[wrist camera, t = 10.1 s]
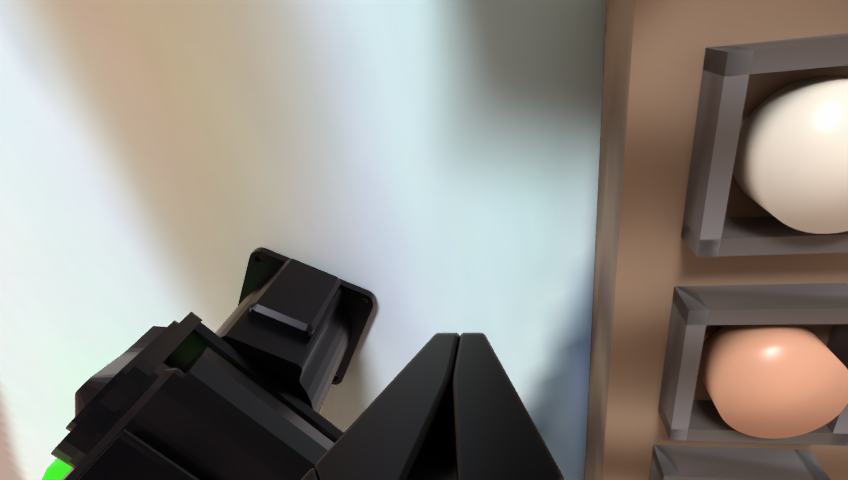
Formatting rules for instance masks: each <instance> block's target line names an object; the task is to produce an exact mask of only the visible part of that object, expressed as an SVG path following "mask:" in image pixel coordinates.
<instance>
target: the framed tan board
mask: <svg viewBox="0 0 848 480" xmlns="http://www.w3.org/2000/svg"><path fill="white" fill-rule="evenodd" d="M823 75H839V76H847V77H848V0H607V8H606V30H605V52H604V73H603V95H602V117H601V138H600V160H599V182H598V203H597V225H596V247H595V268H594V290H593V312H592V333H591V355H590V377H589V398H588V420H587V442H586V463H585V480H848V404H847V405H846V407H845V408H844V409H843V410H842V412H841V413H840V414H839V415H838V416H837V417H835V418H834V419H833V420H832V421H830V422H829V423H827V424H826V425H824V426H822V427H820V428H818V429H816V430H814V431H811V432H809V433H806V434H802V435H799V436H794V437H788V438H779V439H769V438H759V437H754V436H750V435H746V434H744V433H741V432H739V431H737V430H735V429H733V428H732V427H731V426H729V425H728V424H727V423H726V422H725V421H724V420H723V419H722V417H721V416H720V414H719V412H718V410H717V408H716V406H715V405H714V403H713V401H712V399H711V397H710V395H709V393H708V392H707V390H706V388H705V386H704V384H703V382H702V380H701V378H700V376H699V374H698V370H699V364H700V358H701V352H702V346H703V345H704V343H705V342H706V341H707V340H708V338H709V337H711V336H712V335H713V334H714V333H715V332H716V331H718V330H719V329H720V328H722V327H724V326H726V325H785V324H804V325H806V326H807V327H808V328H809V329H810V330H811V331H812V332H813V333H814V334H815V335H816V336H817V337H818V338H819V339H820V340H821V341H822V342H823V343H824V345H825V346H826V347H827V348H828V349H829V350H830V351H831V352H832V353H833V354H834V355H835V356H836V357H837V358H838V359H839V360H840V361H841V362H842V363H843V365H844V366H845V367H846V368H847V369H848V231H845V232H840V233H830V234H816V233H808V232H804V231H800V230H796V229H794V228H791V227H789V226H787V225H786V224H784V223H782V222H781V221H779V220H778V219H777V218H776V217H774V216H773V215H772V214H770V213H769V212H768V211H767V210H765V209H764V208H763V207H761V206H760V205H759V204H758V203H756V202H755V201H754V200H752V199H751V198H750V197H749V196H747V195H746V194H745V193H744V192H743V191H742V189H741V188H740V187H739V185H738V183H737V182H736V179H735V177H734V174H733V167H734V161H735V156H736V150H737V144H738V138H739V132H740V129H741V127H742V125H743V124H744V123H745V121H746V120H747V118H748V117H749V116H750V115H751V113H752V112H753V111H754V110H755V109H756V108H757V107H758V106H759V105H760V104H761V103H762V102H763V101H765V100H766V99H767V98H768V97H770V96H771V95H772V94H774V93H776V92H777V91H779V90H780V89H782V88H784V87H786V86H788V85H790V84H792V83H795V82H798V81H800V80H803V79H807V78H811V77H816V76H823Z"/></svg>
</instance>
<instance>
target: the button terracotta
mask: <svg viewBox="0 0 848 480" xmlns="http://www.w3.org/2000/svg"><path fill="white" fill-rule="evenodd" d="M698 374H699V376H700V378H701V380H702V382H703V384H704V386H705V388H706V390H707V392H708V393H709V395H710V397H711V399H712V401H713V403H714V405H715V406H716V408H717V410H718V412H719V414H720V416H721V417H722V419H723V420H724V421H725V422H726V423H727V424H728V425H729V426H731V427H732V428H733V429H735V430H737V431H739V432H741V433H744V434H746V435H750V436H754V437H759V438H769V439H779V438H788V437H794V436H799V435H802V434H806V433H809V432H811V431H814V430H816V429H818V428H820V427H822V426H824V425H826V424H827V423H829V422H830V421H832V420H833V419H834V418H835V417H837V416H838V415H839V414H840V413H841V412H842V410H843V409H844V408H845V407H846V405H847V404H848V369H847V368H846V367H845V366H844V365H843V363H842V362H841V361H840V360H839V359H838V358H837V357H836V356H835V355H834V354H833V353H832V352H831V351H830V350H829V349H828V348H827V347H826V346H825V345H824V343H823V342H822V341H821V340H820V339H819V338H818V337H817V336H816V335H815V334H814V333H813V332H812V331H811V330H810V329H809V328H808V327H807V326H806V325H804V324H785V325H726V326H724V327H722V328H720V329H719V330H718V331H716V332H715V333H714V334H713V335H712V336H711V337H709V338H708V340H707V341H706V342H705V343H704V345H703V346H702V352H701V358H700V364H699V370H698Z"/></svg>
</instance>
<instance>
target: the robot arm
mask: <svg viewBox="0 0 848 480" xmlns="http://www.w3.org/2000/svg"><path fill="white" fill-rule="evenodd" d="M258 256H261V257H263V258H264V261H262V260H261V259H260V258H259V257H258ZM362 298H364V299H366V300H367V301H368V302H367V303H366V302H363V301H362V300H361V299H362ZM374 303H375V296H374V295H373V293H372V292H370V291H368V290H366V289H363V288H361V287H358V286H356V285H353V284H351V283H349V282H346V281H344V280H341V279H339V278H338V277H336V276H333V275H331V274H328V273H326V272H324V271H321V270H319V269H316V268H314V267H311V266H309V265H306V264H304V263H302V262H299V261H297V260H294V259H290V258H288V257H285V256H283V255H280V254H278V253H275V252H273V251H271V250H268V249H266V248H262V247H261V248H257V249H255V250H254V251H253V252H252V253H251V255H250V258H249V262H248V266H247V271H246V275H245V279H244V283H243V287H242V292H241V296H240V300H239V304H238V307H237V308H236V310H235V311H234V312H233V313H232V314H231V315H230V317H229V318H228V319H227V320H226V321H225V322H224V323H223V325H222V326H221V327H220V328H219V329H218V330H217V332H216V333H214V332H213V331H211V330H210V329H209V328H207V327H206V326H205V325H204V324H202V323H201V321H202V320H201V319H200V318H199V317H198V316H196V315H195V314H194V313H192V312H190V313H189V314H188V315H187V316H186V317H185V318H184V319H183V320H182V321H181V322H180V323H178V322H176V321H173V322H172V323H171V324H170V325H169V326H168V327H158V326H153V327H152V328H151V329H150V330H149V331H148V332H146V333H145V334H144V335H143V336H142V337H141V338H140V339H139V340H138V341H137V342H136V343H135V344H134V345H132V346H131V347H130V348H129V349H128V350H127V351H126V352H125V353H123V354H122V355H121V356H119V357H118V358H117V359H115V360H114V361H113V362H111V363H110V364H109V365H107V366H106V367H104V368H103V369H102V370H100V371H99V372H98V373H96V374H95V375H94V376H92V377H91V378H90V379H89V380H88V381H86V382H85V383H84V384H83V385H82V386H81V387H80V388H79V389H78V391H77V392H76V393H75V418H74V419H73V420H72V421H71V422H70V423H69V425H68V426H67V427H66V429H67V430H69V431H70V433H69V434H68V435H67V436H66V437H65V438H64V439H63V440H62V441H61V443H60V444H59V445H58V446H57V447H56V448H55V449H54V450H53V452H52V453H51V454H52V455H54V456H55V457H57V458H58V459H60V460H61V461H63V462H64V463H66V464H68V465H69V466H71V467H73V468H72V469H71V470H70V471H69V472H68V473H67V474H66V475H65V476H64V477H63V478H62V479H61V480H564V478H563V475H562V474H561V472H560V470H559V468H558V466H557V464H556V463H555V461H554V459H553V457H552V455H551V454H550V452H549V450H548V448H547V446H546V445H545V443H544V441H543V439H542V437H541V435H540V434H539V432H538V430H537V428H536V426H535V425H534V423H533V421H532V419H531V417H530V415H529V414H528V412H527V410H526V408H525V406H524V405H523V403H522V401H521V399H520V397H519V396H518V394H517V392H516V390H515V388H514V386H513V385H512V383H511V381H510V379H509V377H508V376H507V374H506V372H505V370H504V368H503V366H502V365H501V363H500V361H499V359H498V357H497V356H496V354H495V352H494V350H493V348H492V346H491V345H490V343H489V341H488V339H487V337H486V336H485V335H484V334H483V333H463V334H461V335H460V336H459V334H458V333H437V334H435V335H434V336H433V337H432V338H431V339H430V340H429V342H428V343H427V344H426V345H425V346H424V347H423V348H422V349H421V350H420V351H419V352H418V353H417V355H416V356H415V357H414V358H413V359H412V360H411V361H410V362H409V363H408V364H407V365H406V367H405V368H404V369H403V370H402V371H401V372H400V373H399V374H398V375H397V376H396V377H395V378H394V380H393V381H392V382H391V383H390V384H389V385H388V386H387V387H386V388H385V389H384V390H383V391H382V393H381V394H380V395H379V396H378V397H377V398H376V399H375V400H374V401H373V402H372V403H371V404H370V406H369V407H368V408H367V409H366V410H365V411H364V412H363V413H362V414H361V415H360V416H359V418H358V419H357V420H356V421H355V422H354V423H353V424H352V425H351V426H350V427H349V428H348V429H347V431H346V432H344V433H343V432H342V431H341V430H339V429H338V428H337V427H335V426H334V425H333V424H331V423H330V422H329V421H328V420H326V419H325V418H324V417H322V416H321V415H320V414H319V410H320V408H321V406H322V403H323V401H324V399H325V397H326V394H327V392H328V390H329V388H330V385H331V384H334V385H335V384H339V383H341V381H342V379H343V377H344V375H345V372H346V370H347V367H348V365H349V363H350V360H351V358H352V355H353V353H354V351H355V348H356V346H357V343H358V341H359V339H360V336H361V334H362V331H363V329H364V327H365V324H366V322H367V319H368V317H369V315H370V312H371V310H372V307H373V305H374ZM335 375H336V376H335Z"/></svg>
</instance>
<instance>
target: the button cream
mask: <svg viewBox="0 0 848 480" xmlns="http://www.w3.org/2000/svg"><path fill="white" fill-rule="evenodd" d="M733 174H734V177H735V179H736V182H737V183H738V185H739V187H740V188H741V189H742V191H743V192H744V193H745V194H746V195H747V196H749V197H750V198H751V199H752V200H754V201H755V202H756V203H758V204H759V205H760V206H761V207H763V208H764V209H765V210H767V211H768V212H769V213H770V214H772V215H773V216H774V217H776V218H777V219H778V220H779V221H781V222H782V223H784V224H786V225H787V226H789V227H791V228H794V229H796V230H800V231H804V232H808V233H816V234H830V233H840V232H845V231H848V77H847V76H839V75H823V76H816V77H811V78H807V79H803V80H800V81H798V82H795V83H792V84H790V85H788V86H786V87H784V88H782V89H780V90H779V91H777V92H776V93H774V94H772V95H771V96H770V97H768V98H767V99H766V100H765V101H763V102H762V103H761V104H760V105H759V106H758V107H757V108H756V109H755V110H754V111H753V112H752V113H751V115H750V116H749V117H748V118H747V120H746V121H745V123H744V124H743V125H742V127H741V129H740V132H739V138H738V144H737V150H736V156H735V161H734V167H733Z"/></svg>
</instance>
